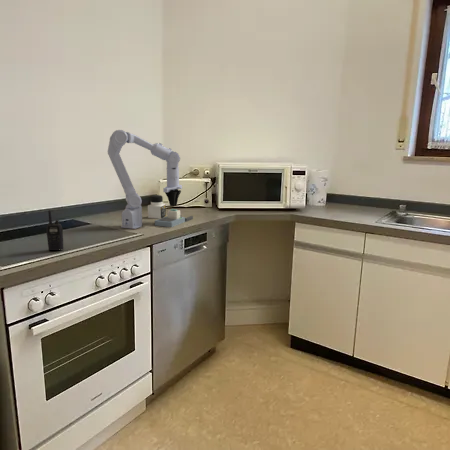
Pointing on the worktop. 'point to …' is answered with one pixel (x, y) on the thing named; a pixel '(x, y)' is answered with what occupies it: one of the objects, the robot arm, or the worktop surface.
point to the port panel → (169, 222)
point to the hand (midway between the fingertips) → (173, 205)
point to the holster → (188, 218)
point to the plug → (173, 214)
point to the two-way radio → (54, 234)
